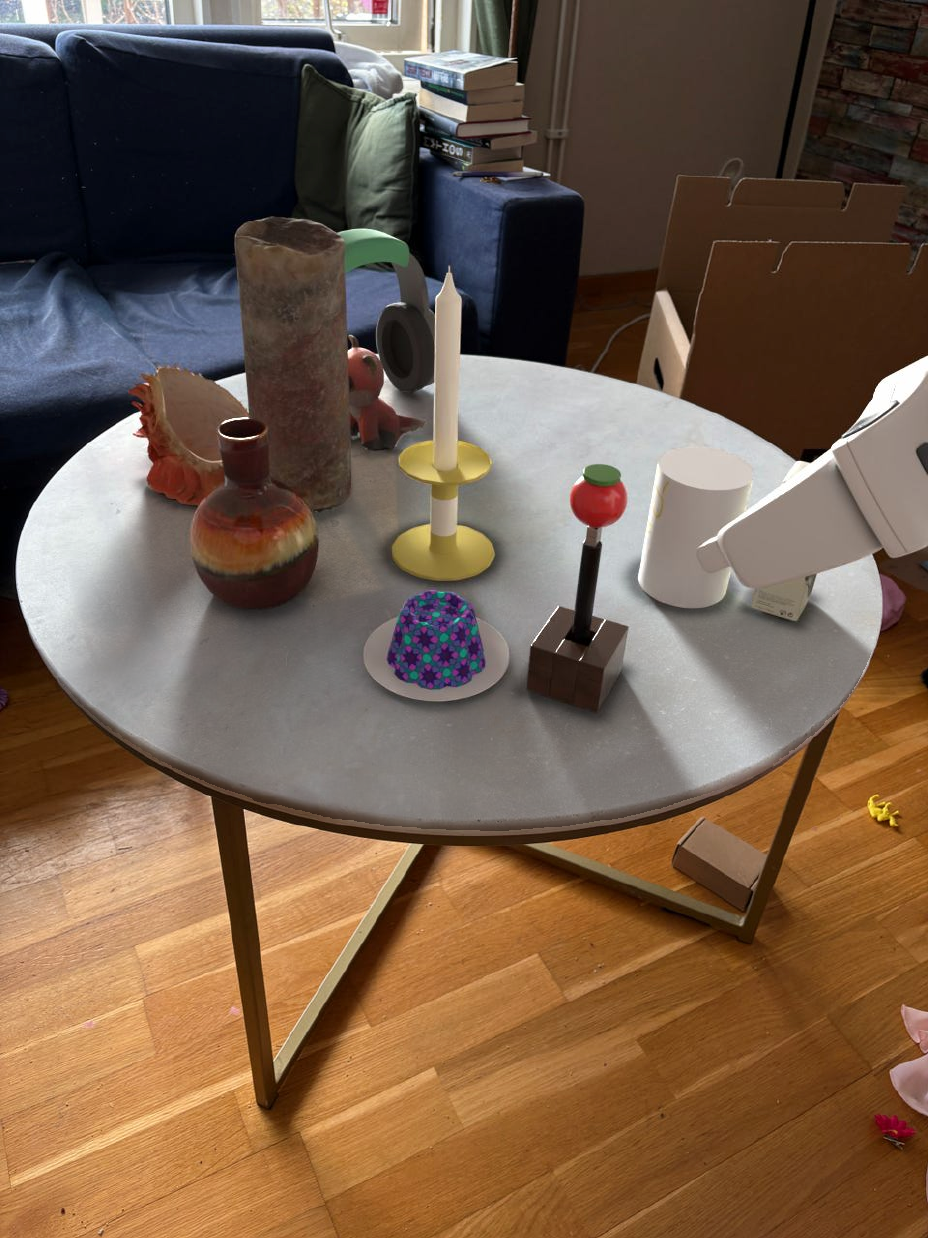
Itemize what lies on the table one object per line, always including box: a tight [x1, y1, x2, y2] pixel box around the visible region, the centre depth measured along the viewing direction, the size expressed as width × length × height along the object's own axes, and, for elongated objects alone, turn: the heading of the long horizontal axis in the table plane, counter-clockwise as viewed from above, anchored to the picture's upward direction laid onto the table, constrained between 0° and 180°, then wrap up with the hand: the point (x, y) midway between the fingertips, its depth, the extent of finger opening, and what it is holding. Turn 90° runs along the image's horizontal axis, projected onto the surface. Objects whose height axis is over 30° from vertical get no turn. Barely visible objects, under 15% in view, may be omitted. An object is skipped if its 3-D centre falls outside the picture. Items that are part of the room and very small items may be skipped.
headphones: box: [337, 228, 435, 393], centre depth 114 cm, size 19×11×20 cm, turn 126°
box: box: [750, 460, 818, 622], centre depth 82 cm, size 5×4×13 cm
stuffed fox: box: [347, 334, 428, 452], centre depth 106 cm, size 8×11×12 cm
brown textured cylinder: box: [234, 216, 353, 513], centre depth 90 cm, size 10×10×27 cm
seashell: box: [127, 362, 249, 506], centre depth 100 cm, size 17×11×15 cm
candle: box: [391, 265, 496, 582], centre depth 83 cm, size 10×10×27 cm
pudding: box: [362, 589, 511, 702], centre depth 76 cm, size 12×12×5 cm
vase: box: [189, 418, 320, 611], centre depth 81 cm, size 11×11×15 cm
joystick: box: [569, 463, 628, 647], centre depth 70 cm, size 4×4×19 cm
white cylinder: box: [637, 445, 755, 609], centre depth 84 cm, size 8×8×12 cm
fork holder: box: [526, 605, 630, 714], centre depth 75 cm, size 6×6×4 cm
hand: (742, 530), depth 60 cm, fingers open, 8 cm apart
